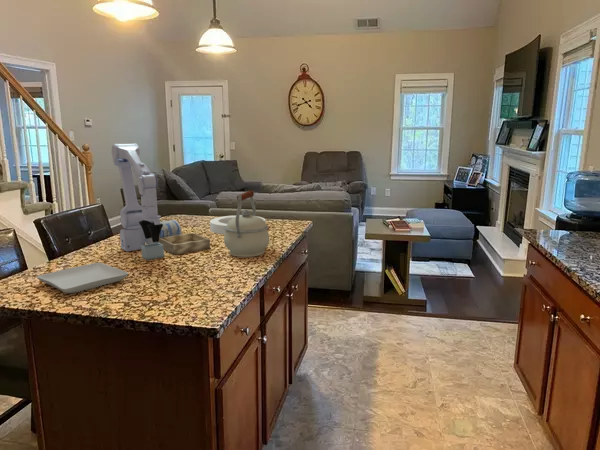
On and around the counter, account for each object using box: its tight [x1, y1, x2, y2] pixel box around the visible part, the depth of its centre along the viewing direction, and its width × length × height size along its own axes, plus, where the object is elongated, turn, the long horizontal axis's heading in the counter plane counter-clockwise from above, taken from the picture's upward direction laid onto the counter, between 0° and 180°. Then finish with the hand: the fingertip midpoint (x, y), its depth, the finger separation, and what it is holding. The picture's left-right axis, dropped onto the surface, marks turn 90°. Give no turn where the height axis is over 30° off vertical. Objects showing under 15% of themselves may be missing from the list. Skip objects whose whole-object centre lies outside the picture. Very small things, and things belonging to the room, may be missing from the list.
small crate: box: [140, 243, 165, 261], centre depth 175 cm, size 7×5×5 cm
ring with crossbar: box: [209, 214, 266, 235], centre depth 228 cm, size 28×28×5 cm
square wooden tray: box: [159, 232, 211, 256], centre depth 190 cm, size 16×16×4 cm
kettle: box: [223, 190, 270, 258], centre depth 181 cm, size 25×18×25 cm
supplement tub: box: [144, 219, 183, 245], centre depth 197 cm, size 10×10×15 cm
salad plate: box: [37, 262, 129, 294], centre depth 146 cm, size 21×21×3 cm
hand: (152, 240), depth 174 cm, fingers open, 7 cm apart
